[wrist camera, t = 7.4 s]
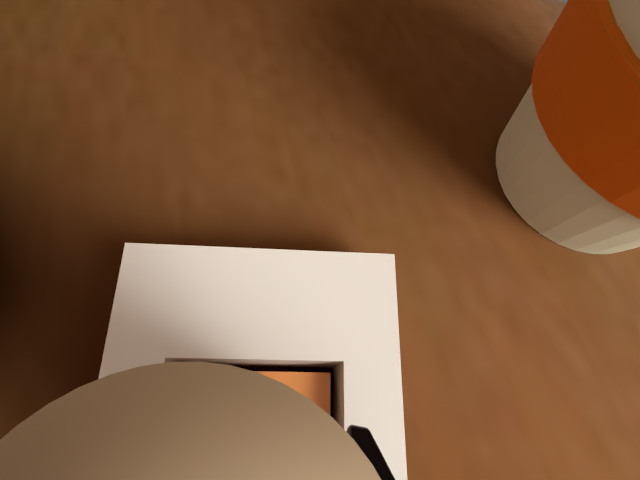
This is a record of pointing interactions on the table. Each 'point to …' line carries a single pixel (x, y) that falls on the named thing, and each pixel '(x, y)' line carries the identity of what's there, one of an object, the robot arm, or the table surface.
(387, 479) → the robot arm
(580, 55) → the reusable coffee cup
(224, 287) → the frame
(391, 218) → the table surface
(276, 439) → the cream ridged cylinder
